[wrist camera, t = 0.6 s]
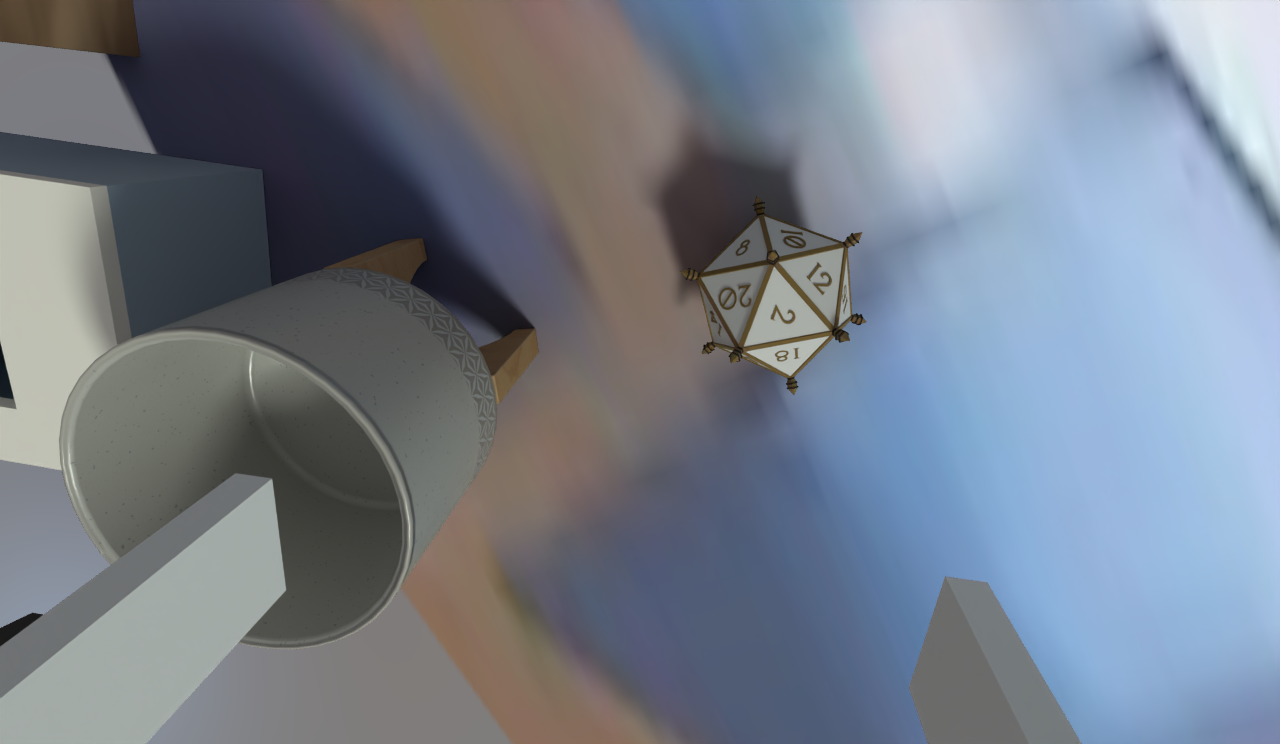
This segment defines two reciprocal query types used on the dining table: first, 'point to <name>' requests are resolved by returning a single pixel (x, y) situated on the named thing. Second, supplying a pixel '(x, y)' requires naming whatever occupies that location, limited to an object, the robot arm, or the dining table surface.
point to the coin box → (108, 265)
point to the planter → (298, 430)
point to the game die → (777, 295)
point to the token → (71, 25)
